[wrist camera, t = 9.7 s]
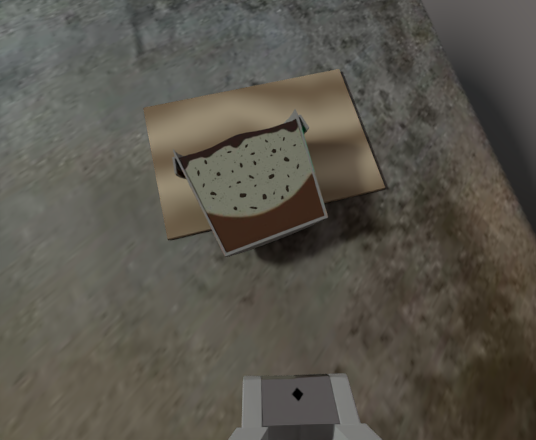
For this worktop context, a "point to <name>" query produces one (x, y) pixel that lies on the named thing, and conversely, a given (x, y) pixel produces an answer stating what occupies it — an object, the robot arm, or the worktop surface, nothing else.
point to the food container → (255, 186)
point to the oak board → (253, 119)
